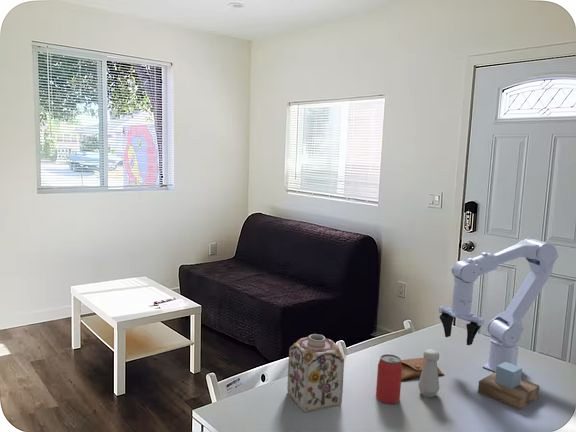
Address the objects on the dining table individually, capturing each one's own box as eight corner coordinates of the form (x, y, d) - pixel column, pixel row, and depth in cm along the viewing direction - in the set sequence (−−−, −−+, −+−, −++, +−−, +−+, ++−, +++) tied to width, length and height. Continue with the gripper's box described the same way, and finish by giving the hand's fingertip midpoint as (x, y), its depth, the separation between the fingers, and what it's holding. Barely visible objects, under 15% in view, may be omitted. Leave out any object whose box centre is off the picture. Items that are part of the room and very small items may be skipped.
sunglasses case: (398, 382, 145) (393, 359, 147) (386, 384, 151) (381, 362, 153) (446, 375, 151) (441, 353, 154) (433, 377, 158) (428, 356, 160)
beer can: (385, 407, 131) (388, 365, 129) (370, 395, 137) (373, 355, 135) (404, 402, 134) (407, 361, 132) (389, 391, 140) (392, 351, 138)
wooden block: (497, 382, 149) (499, 370, 149) (537, 398, 140) (539, 385, 139) (477, 393, 141) (478, 380, 141) (518, 411, 132) (520, 398, 132)
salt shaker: (439, 400, 136) (443, 356, 134) (418, 397, 137) (422, 353, 135) (437, 390, 142) (441, 348, 140) (417, 387, 143) (420, 345, 141)
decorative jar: (286, 392, 137) (288, 331, 134) (322, 385, 141) (325, 326, 139) (304, 414, 126) (307, 348, 124) (343, 406, 131) (346, 342, 128)
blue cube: (503, 377, 144) (505, 361, 143) (520, 384, 140) (522, 368, 139) (494, 382, 141) (496, 365, 140) (511, 389, 137) (513, 372, 136)
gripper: (435, 295, 155) (431, 335, 157) (477, 307, 144) (472, 351, 146) (447, 291, 160) (443, 331, 162) (489, 303, 149) (484, 345, 151)
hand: (458, 340), depth 154 cm, fingers open, 7 cm apart
